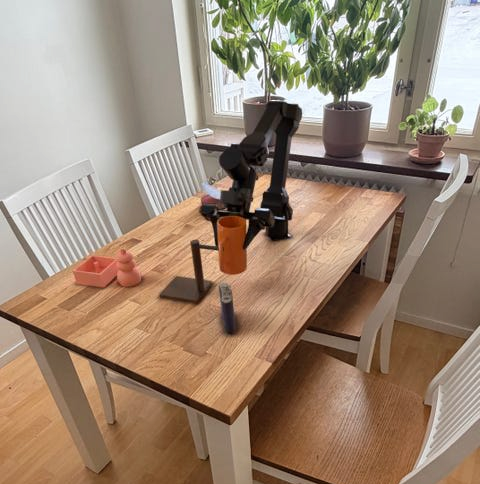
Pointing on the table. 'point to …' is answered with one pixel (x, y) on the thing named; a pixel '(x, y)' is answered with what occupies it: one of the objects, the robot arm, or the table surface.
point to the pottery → (108, 270)
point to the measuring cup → (232, 244)
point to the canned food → (211, 196)
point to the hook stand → (190, 279)
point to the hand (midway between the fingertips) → (230, 247)
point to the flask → (227, 308)
